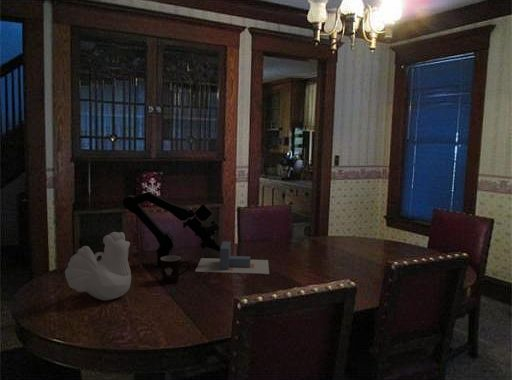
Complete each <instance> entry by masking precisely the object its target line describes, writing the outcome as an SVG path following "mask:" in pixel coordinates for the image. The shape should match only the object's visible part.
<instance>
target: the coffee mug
mask: <svg viewBox="0 0 512 380" xmlns="http://www.w3.org/2000/svg"><path fill="white" fill-rule="evenodd" d="M160 260H161V267H160V268H161V276H162V283H164V284H171V285H172V284H176V283H178V282H179V277H180V276H181V275H183V274H184V273H186V272H187V271H189V269H190V263H189V262H187V261H182V262H181V260H182V257H181V256H179V255H170V256H164V257H161V258H160ZM183 264H186V265H187V269H185V270H183V271H182V272H180V268H181V266H182V265H183Z"/></svg>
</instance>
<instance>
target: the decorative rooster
mask: <svg viewBox="0 0 512 380" xmlns="http://www.w3.org/2000/svg"><path fill="white" fill-rule="evenodd" d="M102 242H103V244H104V248H103V251H98V252H95V254H94V252H93V250H92V249H91V248H90V246H88V245H83V246H81V248H78V249H77V251H76V253H75V254H73V255H72V256H71V257H70V259H69V261H68V264H67V265H68V266H67V267H66V269H65V270H64V274H65V279H66V282H67V284H68V287H69V288H70V289H72V290H73V289H74V290H75V291H76V292H77V293H83V292H84V293H85V292H86V293H87V294H89V295H90V296H91V297H92V298H94V299H97V300H101V301H111V300H114V299H118V298H120V297H122V296H123V295H125V294H126V293H128V291H129V290H130V287H131V283H132V273H131V271H132V270H131V268H130V264H129V261H128V258H129V253H130V251H129V250H130V249H129V248H130V246H131V242H130V241H128V240H126V235H125V233H124V232H122V231H120V232H117V231H113V232H110V233H109V234H107V235H104V237H103V238H102ZM100 256H101V257H100ZM98 257H100V258H101V259H100V260H98Z"/></svg>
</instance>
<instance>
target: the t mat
mask: <svg viewBox="0 0 512 380" xmlns="http://www.w3.org/2000/svg"><path fill="white" fill-rule="evenodd" d="M194 272H197V273H198V272H200V273H201V272H203V273H230V274H231V273H234V274H235V273H236V274H262V275H270V267H269V260H268V259H250V268H249V267H229V269H228V270H220V258H209V257H208V258H205V257H201V258H200V260H199V262H198V265H197V267H196V268H195V271H194Z"/></svg>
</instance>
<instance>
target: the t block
mask: <svg viewBox="0 0 512 380" xmlns="http://www.w3.org/2000/svg"><path fill="white" fill-rule="evenodd" d="M231 246H232V241H225V240H224V241H222V243H221V246H220V252H219V259H220V270H228V269H229V267H249V268H250V260H251V256H248V255H247V256H246V255H245V256H244V255H232V254H231V253H232V251H231V250H232V249H231Z"/></svg>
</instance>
